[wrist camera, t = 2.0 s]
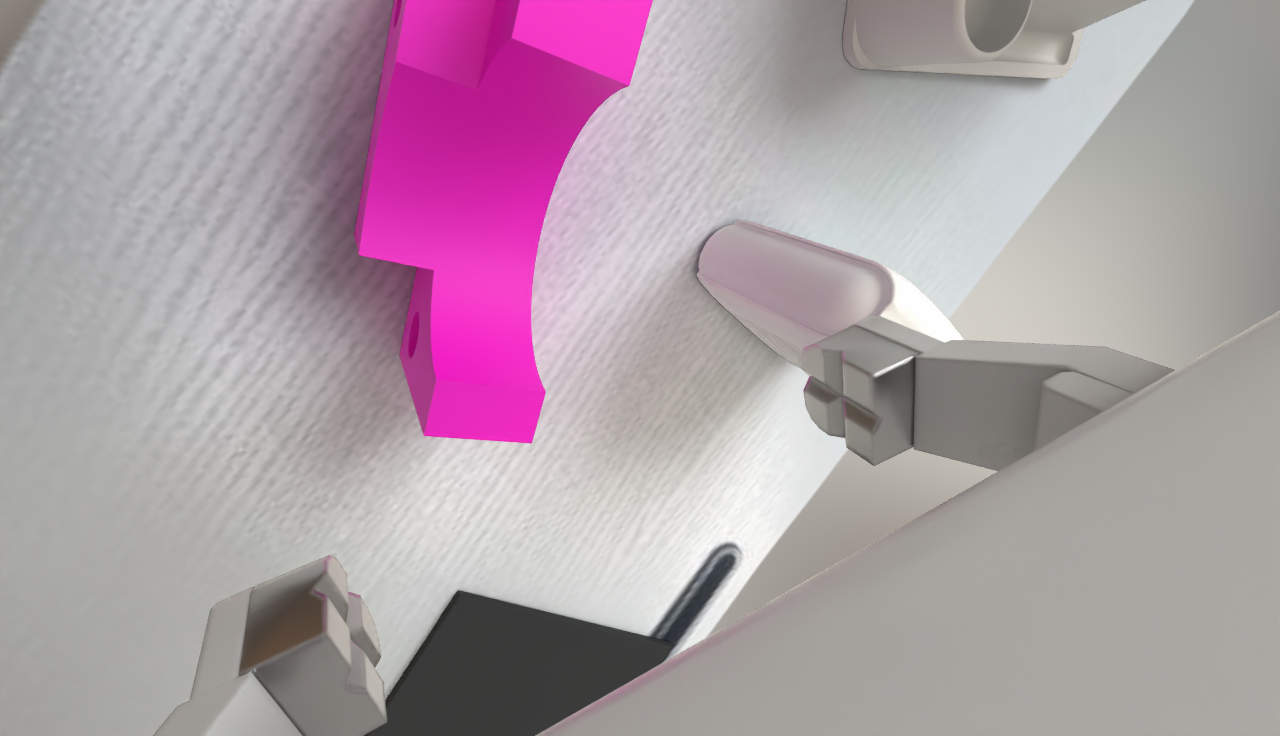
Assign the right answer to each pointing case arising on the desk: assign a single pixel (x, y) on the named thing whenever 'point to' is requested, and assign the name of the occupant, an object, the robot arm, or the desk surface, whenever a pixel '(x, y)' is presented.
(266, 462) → the desk surface
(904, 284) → the photo printer
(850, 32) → the phone holder
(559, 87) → the toy block
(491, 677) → the mat
